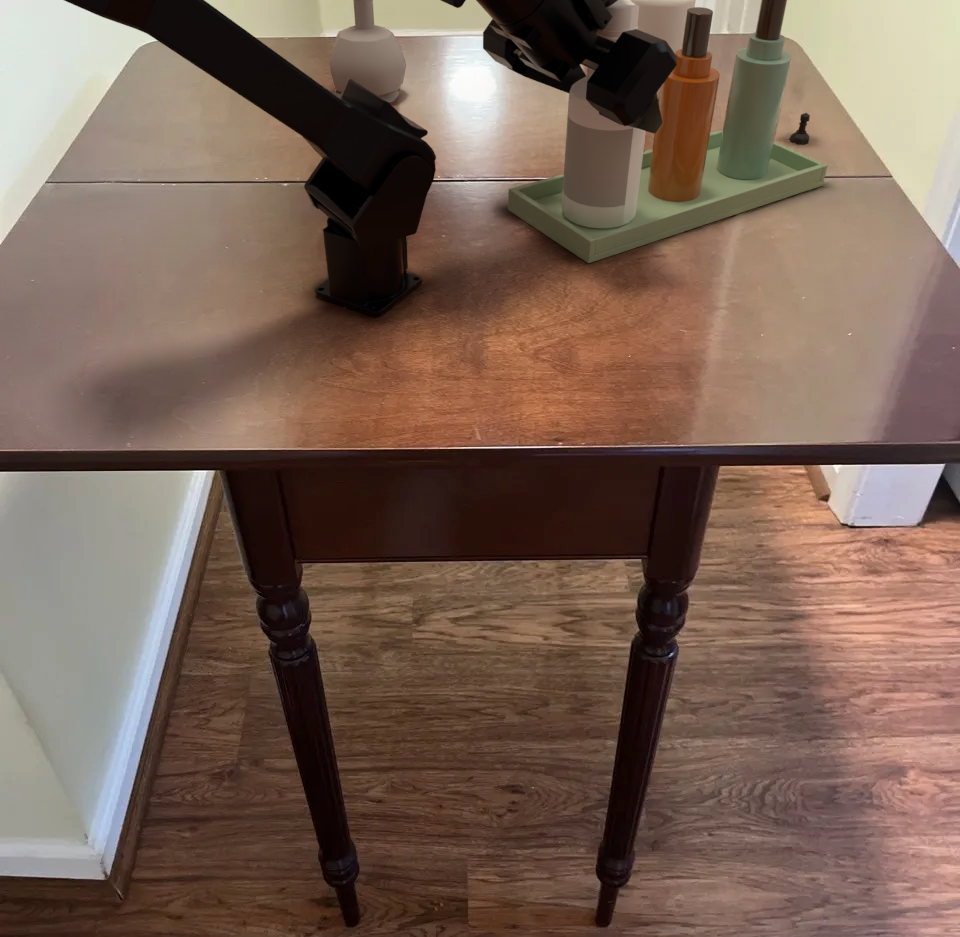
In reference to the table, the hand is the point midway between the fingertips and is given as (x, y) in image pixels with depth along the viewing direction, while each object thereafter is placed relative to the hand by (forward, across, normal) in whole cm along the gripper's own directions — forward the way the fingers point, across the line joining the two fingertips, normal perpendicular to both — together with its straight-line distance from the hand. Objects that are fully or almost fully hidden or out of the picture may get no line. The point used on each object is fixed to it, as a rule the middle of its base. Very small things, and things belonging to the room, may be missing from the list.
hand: (622, 110), depth 83 cm
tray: (+12, 0, +2) cm, 12 cm away
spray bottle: (+5, 0, +8) cm, 9 cm away
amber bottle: (+12, 0, +1) cm, 12 cm away
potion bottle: (+4, +40, +10) cm, 41 cm away
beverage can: (+24, +23, -10) cm, 35 cm away
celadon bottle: (+18, 0, -5) cm, 19 cm away
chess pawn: (+27, +3, -13) cm, 30 cm away
